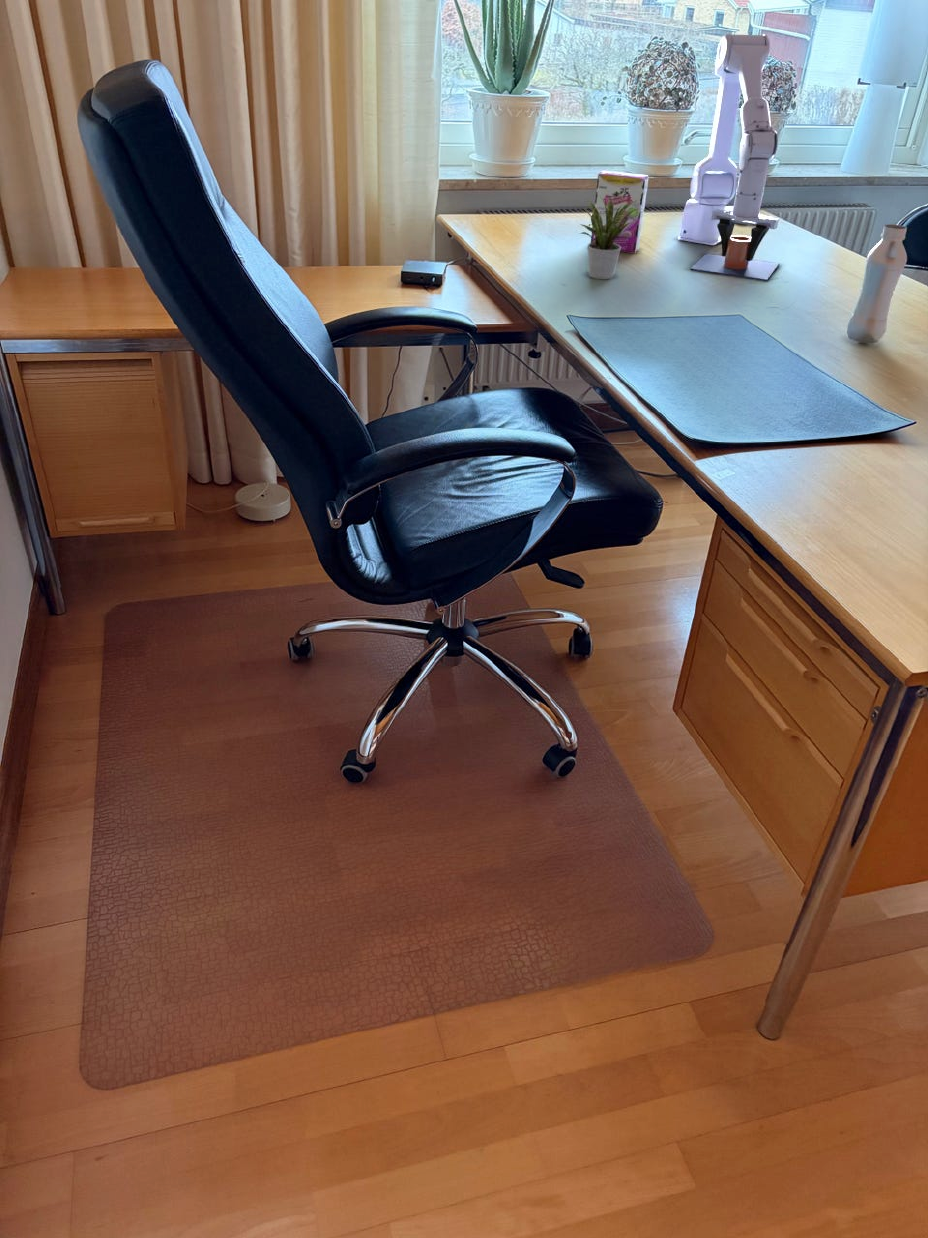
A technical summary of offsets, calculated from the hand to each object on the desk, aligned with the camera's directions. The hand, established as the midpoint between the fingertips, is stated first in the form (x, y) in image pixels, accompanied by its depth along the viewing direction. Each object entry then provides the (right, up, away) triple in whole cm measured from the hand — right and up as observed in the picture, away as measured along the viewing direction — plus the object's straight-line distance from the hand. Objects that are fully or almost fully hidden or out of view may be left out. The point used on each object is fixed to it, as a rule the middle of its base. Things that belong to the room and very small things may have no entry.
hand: (737, 257), depth 207 cm
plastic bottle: (+12, -31, -38) cm, 50 cm away
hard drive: (+13, +28, +43) cm, 53 cm away
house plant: (-31, -7, -7) cm, 32 cm away
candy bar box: (-26, +7, +12) cm, 29 cm away
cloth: (0, -2, +1) cm, 2 cm away
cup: (0, -2, +1) cm, 2 cm away
